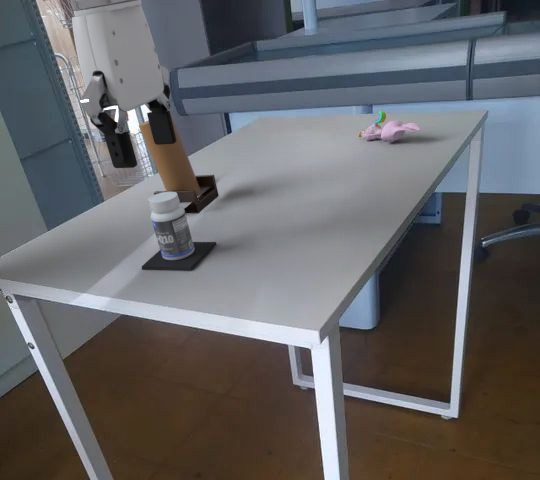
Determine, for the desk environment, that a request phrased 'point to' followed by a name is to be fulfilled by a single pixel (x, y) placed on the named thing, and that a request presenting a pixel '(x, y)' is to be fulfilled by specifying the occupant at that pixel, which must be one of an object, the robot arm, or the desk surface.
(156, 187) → the desk surface
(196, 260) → the coaster
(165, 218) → the pill bottle
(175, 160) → the paper roll
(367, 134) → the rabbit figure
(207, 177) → the roll stand
